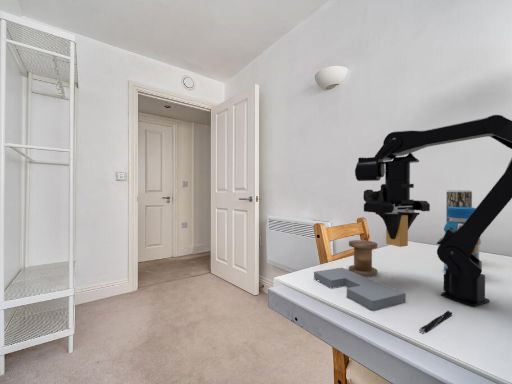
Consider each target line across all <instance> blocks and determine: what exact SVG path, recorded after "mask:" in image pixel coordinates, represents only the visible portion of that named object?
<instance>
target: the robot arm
mask: <svg viewBox="0 0 512 384" xmlns="http://www.w3.org/2000/svg"><path fill="white" fill-rule="evenodd" d="M487 137H490V138H492V139H494V140H495V141H497V142H499V143H500V144H502V145H503V146H505V147H507V148H508V149H510V150H512V120H511V119H510V118H506V117H505V116H504V115H501V114H492V115H489V116H486V117H483V118H477V119H474V120H468V121H463V122H459V123H453V124H449V125H444V126H441V127H435V128H430V129H426V130H398V131H397V130H395V131H393V132H390V133H388V134H387V135H386V136H385V137H384V140H383V144H382V146H381V147H380V148H379V150H378V151H377V152H376V153H375V154H374V156H373V157H358V158H357V159H358V160H357V163H356V166H355V169H354V176H355V179H356V180H357V181H358V182H375V181H377V182H378V181H380V180H381V178H384V183H382V184H381V185H380V190H377V191H376V190H375V191H374V190H373V189H365V190H364V191H363V197H362V198H363V201H364V204H363V212H365V213H375V215H377V216H379V217H380V218H381V219H382V220H383V222H384V224H385V228H387V231H388V233H389V236H390V238H391V239H395V238H396V235H397V231H398V228H399V224H400V220H401V217H402V215H408V230H410V228H411V225H412V224H413V223H414V221H415V219H417V217H418V216H419V215H420V214H421V213H420V212H416V211H421V212H430V209H431V205H430V203H429V202H428V201H427V200H414V199H411V198H410V197H411V195H410V194H411V189H413V188H414V187H415V184H414V183H411V163H415V164H417V163H419V162H420V160H419V159H418V158H417V157H415V155H414V154H413V153H414V152H415V153H416V152H417V151H419V150H422V149H425V148H429V147H433V146H439V145H445V144H450V143H451V144H452V143H457V142H464V141H469V140H474V139H479V138H487ZM511 200H512V157H511V158H510V160H509V162H508V164H507V167H506V169H505V171H504V173H503V174H502V175H501V176H500V177H499V179H498V180H497V181H496V183H495V184H494V185H493V186H492V187H491V189H490V190H489V191H488V192H487V194H486V195H485V197H484V198H483V199H482V200H481V201H480V203H479V204H478V205H477V207H475V208H476V209H475V210H474V212H473V213H472V214H471V215H470V217H469V218H468V219H467V220H466V222H465V223H464V224H463V225H462V226H460V227H459V228H458V229H457V230H454V229H453V228H451V227H449V229H448V230H447V232H446V234H445V233H444V235H445V236H444V235H443V236H444V237H441V238H440V239H438V241H437V242H436V244H437V245H439V246H438V247H437V250H436V254H437V257H438V259H439V260H440V262H442V263H443V264H444V263H445V264H446V265H447V267H448V268H446V273H444V274H443V292H441V296H442V297H445V298H448V299H451V300H454V301H456V302H460V303H462V304H465V305H467V306H470V307H477V306H480V305H483V304H487V303H490V299H489V298H487V297H486V274H482V272H483V266H482V265H483V262H482V261H481V260H480V258H479V259H478V258H477V257H475V256H474V255H473V254H472V252H473V250H474V248H475V246H476V244H477V242H478V240H479V238H480V239H481V236H482V234H483V233H484V232H485V231H486V229H488V228H489V226H490V225H491V223H492V222H493V221H494V220H495V219H496V218H497V217H498V216H499V215H500V214H501V212H502V211H503V210H504V208H505V207H506V206H507V205H508V204H509V202H510V201H511Z"/></svg>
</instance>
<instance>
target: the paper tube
mask: <svg viewBox="0 0 512 384" xmlns="http://www.w3.org/2000/svg"><path fill="white" fill-rule="evenodd" d="M445 206H446V207H445V209H446V210H445V211H446V214H445V215H446V221H445V223H447V222H448V221H449V220H450V218H447V208H448V207H472V208H473V190H446V204H445Z"/></svg>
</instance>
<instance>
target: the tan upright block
mask: <svg viewBox="0 0 512 384" xmlns="http://www.w3.org/2000/svg"><path fill="white" fill-rule="evenodd" d="M385 228H386V227H385ZM385 233H386V234H385V239H386V240H385V244H387V245H392V246H394V247H400V248H401V247H407V246H409V229H408V215H402V217H401V220H400V224H399V228H398V231H397V235H396V238H395V239H391V238H390V236H389V233H388V231H387V228H386V229H385Z"/></svg>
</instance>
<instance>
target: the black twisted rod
mask: <svg viewBox="0 0 512 384" xmlns="http://www.w3.org/2000/svg"><path fill="white" fill-rule="evenodd" d="M450 315H451V316H452V315H453V312H452V311H450V310H447V311H446V312H444V313H443V314H441V315H439V316H437V317H435V318H434V319H433V320H431V321H430V322H429V323H428V324H426V325H425V324H424V325H423V326H422V327H421V326H420V328H419V329H418V331H419V333H421V334H423V335H424V334H426V333H428V332H429V331H430V330H433V328H434V327H436V326H437V325H440V324H441V323H443V322H444V321H446V320H447V319H448V318H449V317H451V316H450Z"/></svg>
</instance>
